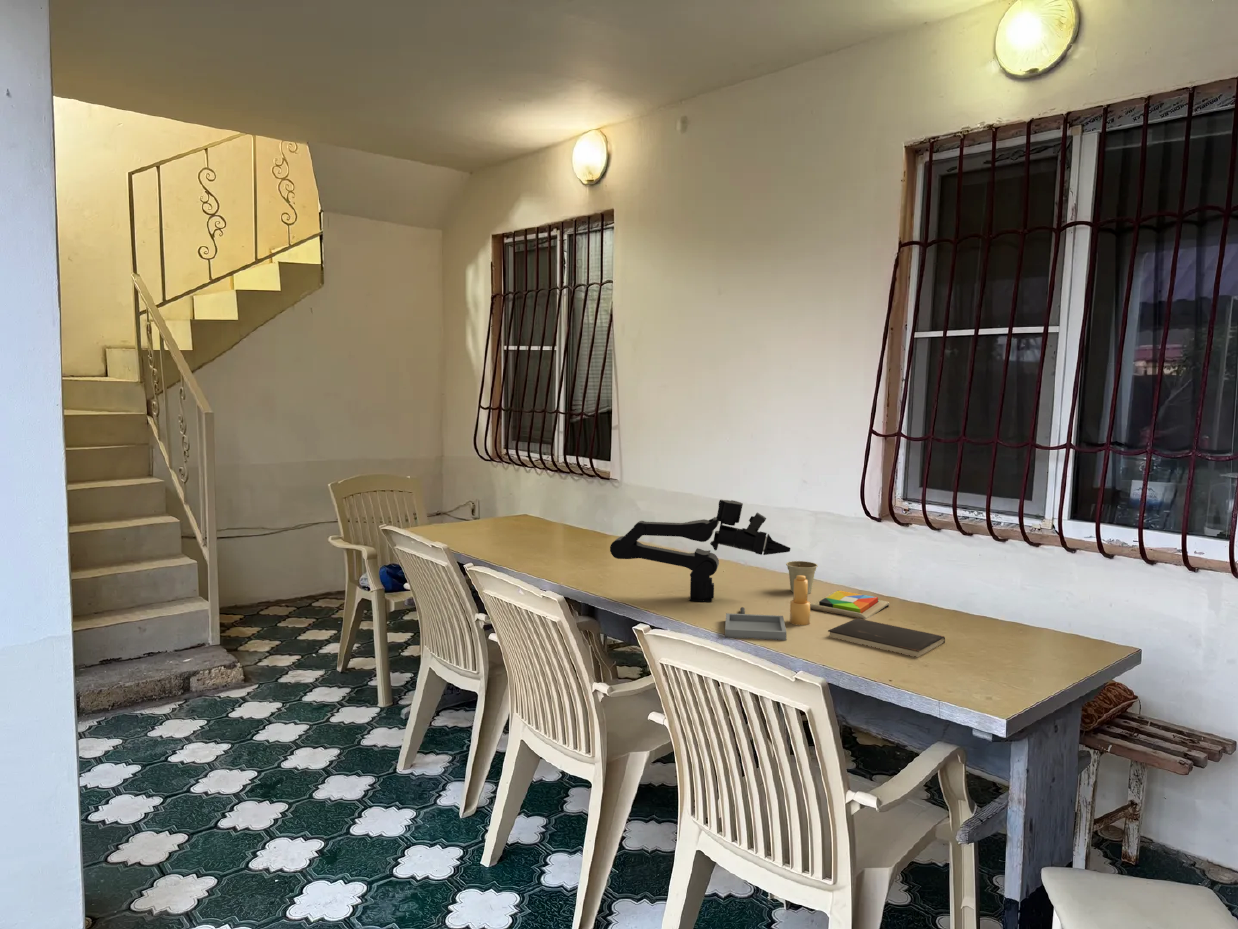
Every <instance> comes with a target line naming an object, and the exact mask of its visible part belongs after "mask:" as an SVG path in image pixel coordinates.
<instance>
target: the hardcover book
mask: <svg viewBox="0 0 1238 929" xmlns="http://www.w3.org/2000/svg"><path fill="white" fill-rule="evenodd" d="M827 632H828V633H829V638H833V639H836V638H838V639H837V640H840V639H842V641H845V640H846V641H845V642H849V641H850V643H853V642H854V644H858V645H862V644H865V645H864V646H866V645H868V646H867V647H871V646H872V647H871V648H875V647H876V649H879V648H880V650H884V651H888V650H890V651H889V652H892V651H894V652H893V653H896V652H899V653H898V654H901V653H902V654H901V655H907V656H909V655H910V657H914V656H916V657H915V658H919V657H921V656H922V655H923V656H924V655H925V654H926V653H928V652H929V651H931V650H933V649H935V648H937V647H939V646H940V645H942V644H946V637H945V636H944V635H940V634H936V633H930V632H925V631H921V630H916V629H910V628H906V627H902V626H901V627H900V626H897V625H891V624H888V623H887V624H886V623H881V622H877V621H872V620H869V619H861V618H856V617H855V619H852V620H850V621H847V622H845V623H842V624H840V625H837V626H836V627H833V628H830V629H828V630H827Z"/></svg>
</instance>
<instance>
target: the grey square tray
mask: <svg viewBox="0 0 1238 929" xmlns="http://www.w3.org/2000/svg"><path fill="white" fill-rule="evenodd" d="M724 624H725V627H724V638H731V639H732V638H733V639H734V638H735V639H749V638H754V639H755V640H770V639H773V640H774V641H776V640H777V639H778V640H777V641H787V628H786V625H785V620H784V616H783V615H777V614H776V615H774V614H749V613H745V614H740V613H729V612H727V613H726V612H725V623H724ZM773 640H772V641H773Z"/></svg>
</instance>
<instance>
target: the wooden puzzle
mask: <svg viewBox="0 0 1238 929" xmlns="http://www.w3.org/2000/svg"><path fill="white" fill-rule="evenodd" d="M889 606H891V603H890V602H889V601H886V600H880V599H879V598H878V597H876V596H872V595H866V594H862V593H861V594H860V593H856V592H855V593H854V592H849V591H843V590H837V591H835V592H834V591H832V592H830V593H829V594H826V595H825V596H824V597H822V598H820V599H818V600H817V601H815V602H814V603H810V610H815V611H819V612H820V611H821V612H826V613H830V614H835V615H841V616H847V617H850V618H851V617H852V618H855V619H856V618H859V619H864V620H868V619H869V618H871V617H873V616H874V615H876V614H877V613H878V612H880V611H881V610H882V609H884V608H886V607H889Z"/></svg>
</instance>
